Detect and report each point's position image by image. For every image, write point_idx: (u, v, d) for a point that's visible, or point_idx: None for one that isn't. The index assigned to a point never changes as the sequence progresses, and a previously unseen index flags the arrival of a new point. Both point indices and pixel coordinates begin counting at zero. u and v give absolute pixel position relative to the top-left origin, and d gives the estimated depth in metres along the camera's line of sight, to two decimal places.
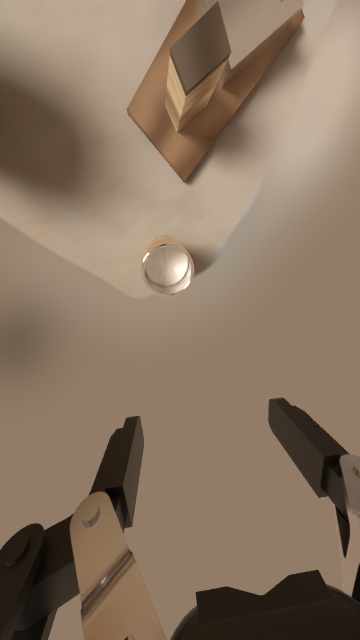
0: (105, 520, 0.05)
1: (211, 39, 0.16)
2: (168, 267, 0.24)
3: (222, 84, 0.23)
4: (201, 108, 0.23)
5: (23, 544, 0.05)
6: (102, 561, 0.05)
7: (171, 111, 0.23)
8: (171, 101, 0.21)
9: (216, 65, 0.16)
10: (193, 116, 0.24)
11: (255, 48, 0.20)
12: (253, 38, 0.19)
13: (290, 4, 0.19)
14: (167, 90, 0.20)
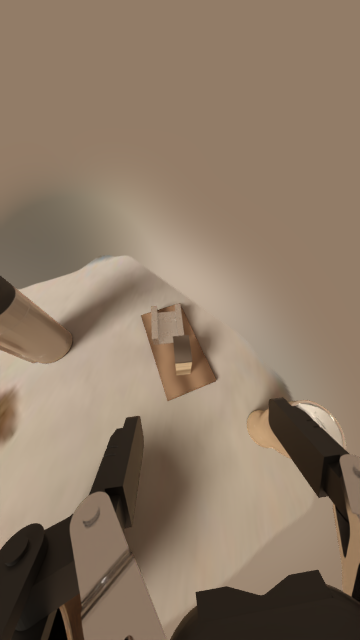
0: (105, 520, 0.05)
1: (181, 342, 0.31)
2: None
3: None
4: None
5: (23, 544, 0.05)
6: (102, 561, 0.05)
7: (182, 372, 0.35)
8: (181, 370, 0.34)
9: (189, 342, 0.31)
10: None
11: (182, 323, 0.40)
12: (179, 323, 0.40)
13: (177, 308, 0.42)
14: (177, 371, 0.34)
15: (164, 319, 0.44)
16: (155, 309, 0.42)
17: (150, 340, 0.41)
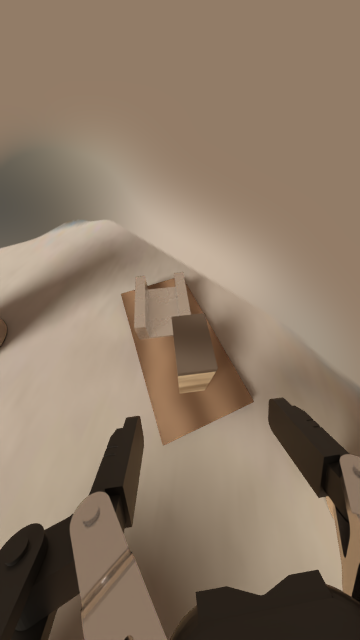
0: (105, 520, 0.05)
1: (190, 328, 0.14)
2: None
3: None
4: None
5: (23, 544, 0.05)
6: (102, 561, 0.05)
7: (191, 389, 0.19)
8: (189, 387, 0.17)
9: (208, 329, 0.14)
10: None
11: None
12: (183, 302, 0.23)
13: (179, 279, 0.25)
14: (181, 387, 0.17)
15: (157, 298, 0.27)
16: (142, 281, 0.25)
17: (134, 332, 0.24)
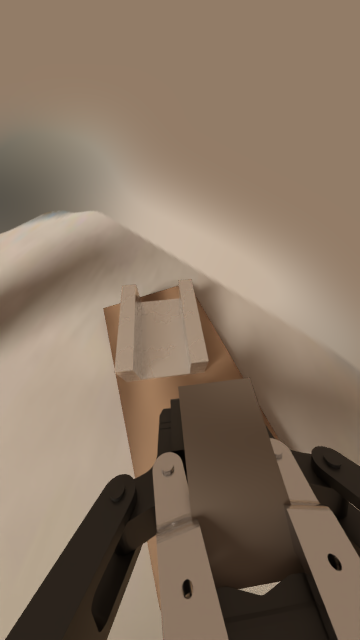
0: (182, 471, 0.07)
1: (221, 421, 0.06)
2: None
3: (203, 371, 0.16)
4: None
5: (120, 488, 0.06)
6: (173, 508, 0.05)
7: None
8: None
9: (262, 421, 0.06)
10: None
11: (200, 326, 0.15)
12: (193, 326, 0.15)
13: (185, 289, 0.17)
14: None
15: (154, 316, 0.19)
16: (131, 292, 0.17)
17: None
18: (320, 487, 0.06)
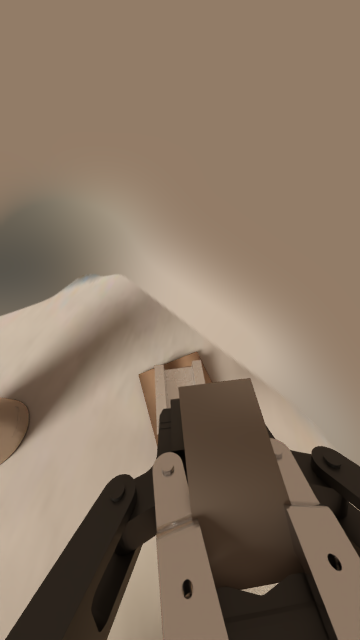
0: (182, 471, 0.06)
1: (221, 422, 0.06)
2: None
3: None
4: None
5: (120, 488, 0.06)
6: (173, 508, 0.05)
7: None
8: None
9: (262, 422, 0.06)
10: None
11: None
12: None
13: (197, 369, 0.26)
14: None
15: (175, 382, 0.28)
16: (161, 371, 0.26)
17: (154, 424, 0.25)
18: (320, 487, 0.06)
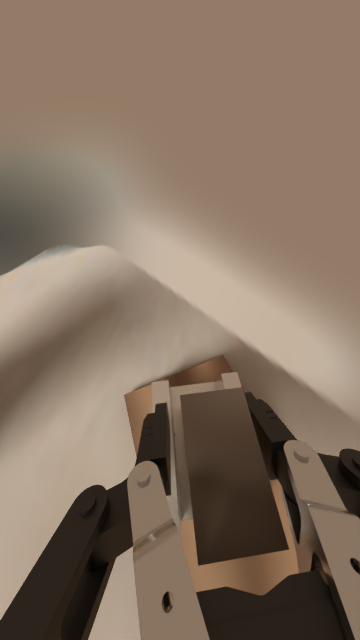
0: (157, 482, 0.06)
1: (217, 425, 0.07)
2: None
3: None
4: None
5: (91, 500, 0.06)
6: (150, 520, 0.05)
7: None
8: None
9: (252, 425, 0.07)
10: None
11: None
12: None
13: None
14: None
15: None
16: (164, 394, 0.14)
17: None
18: (351, 491, 0.06)
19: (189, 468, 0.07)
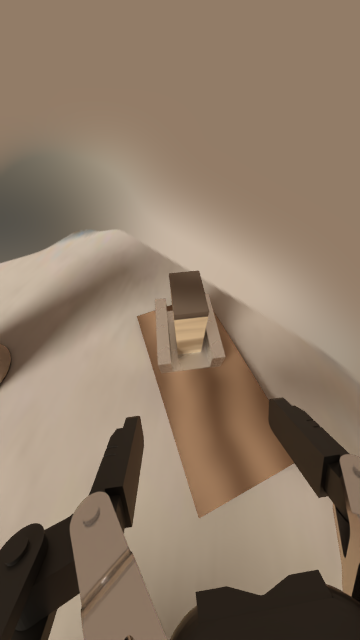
0: (105, 520, 0.05)
1: (185, 282, 0.16)
2: None
3: (219, 365, 0.21)
4: None
5: (23, 544, 0.05)
6: (102, 561, 0.05)
7: (188, 348, 0.20)
8: (186, 342, 0.19)
9: (201, 282, 0.16)
10: None
11: (217, 331, 0.20)
12: (212, 331, 0.20)
13: None
14: (178, 342, 0.19)
15: None
16: (163, 304, 0.22)
17: (154, 364, 0.21)
18: None
19: (172, 293, 0.15)
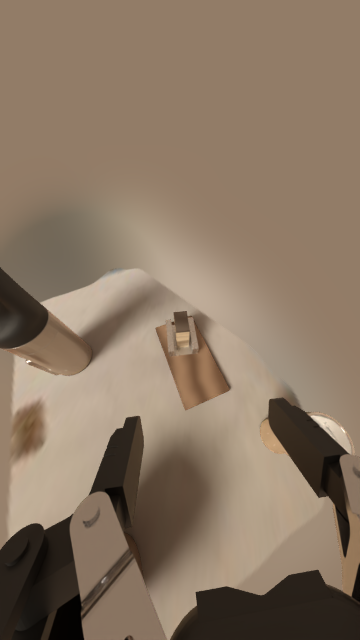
0: (105, 520, 0.05)
1: (180, 316, 0.38)
2: None
3: (197, 352, 0.43)
4: None
5: (23, 544, 0.05)
6: (102, 561, 0.05)
7: (182, 344, 0.43)
8: (181, 342, 0.41)
9: (187, 317, 0.38)
10: None
11: None
12: (193, 336, 0.42)
13: (190, 321, 0.45)
14: (177, 342, 0.41)
15: None
16: (170, 323, 0.45)
17: (165, 352, 0.44)
18: None
19: (175, 322, 0.38)
